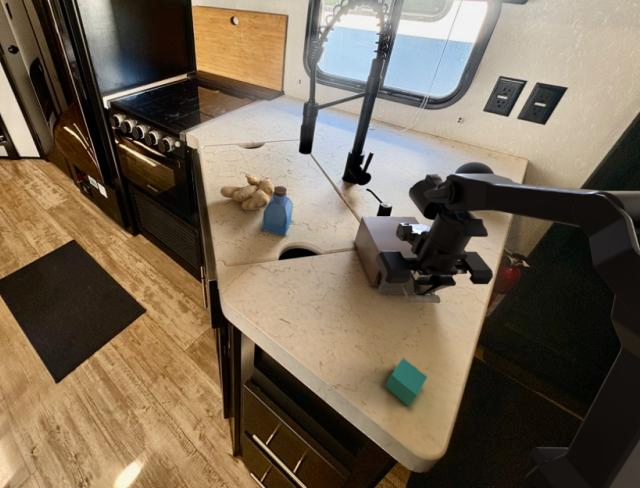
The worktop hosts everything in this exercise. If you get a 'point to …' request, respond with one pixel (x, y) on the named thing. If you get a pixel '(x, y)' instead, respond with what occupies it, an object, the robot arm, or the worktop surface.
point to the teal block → (406, 382)
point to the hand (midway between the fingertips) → (416, 294)
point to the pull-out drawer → (407, 292)
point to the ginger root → (251, 193)
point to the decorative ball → (474, 169)
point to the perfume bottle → (278, 212)
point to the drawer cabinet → (380, 241)
